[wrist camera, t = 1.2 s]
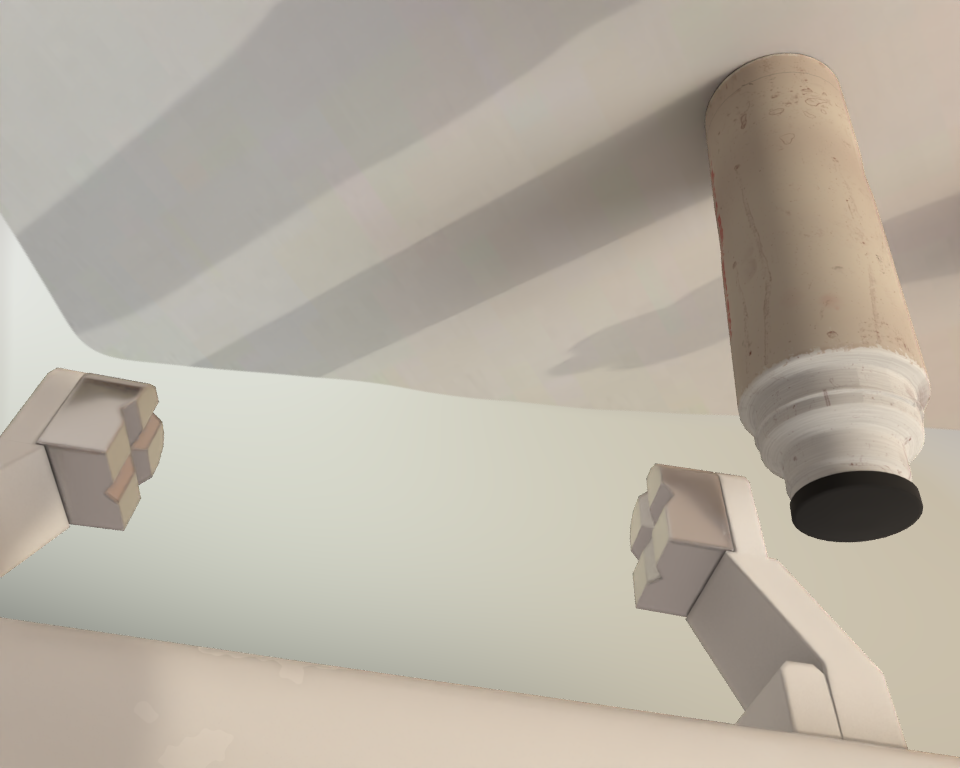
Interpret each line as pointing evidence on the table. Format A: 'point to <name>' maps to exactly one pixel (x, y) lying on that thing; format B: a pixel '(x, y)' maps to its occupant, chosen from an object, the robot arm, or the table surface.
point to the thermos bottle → (814, 302)
